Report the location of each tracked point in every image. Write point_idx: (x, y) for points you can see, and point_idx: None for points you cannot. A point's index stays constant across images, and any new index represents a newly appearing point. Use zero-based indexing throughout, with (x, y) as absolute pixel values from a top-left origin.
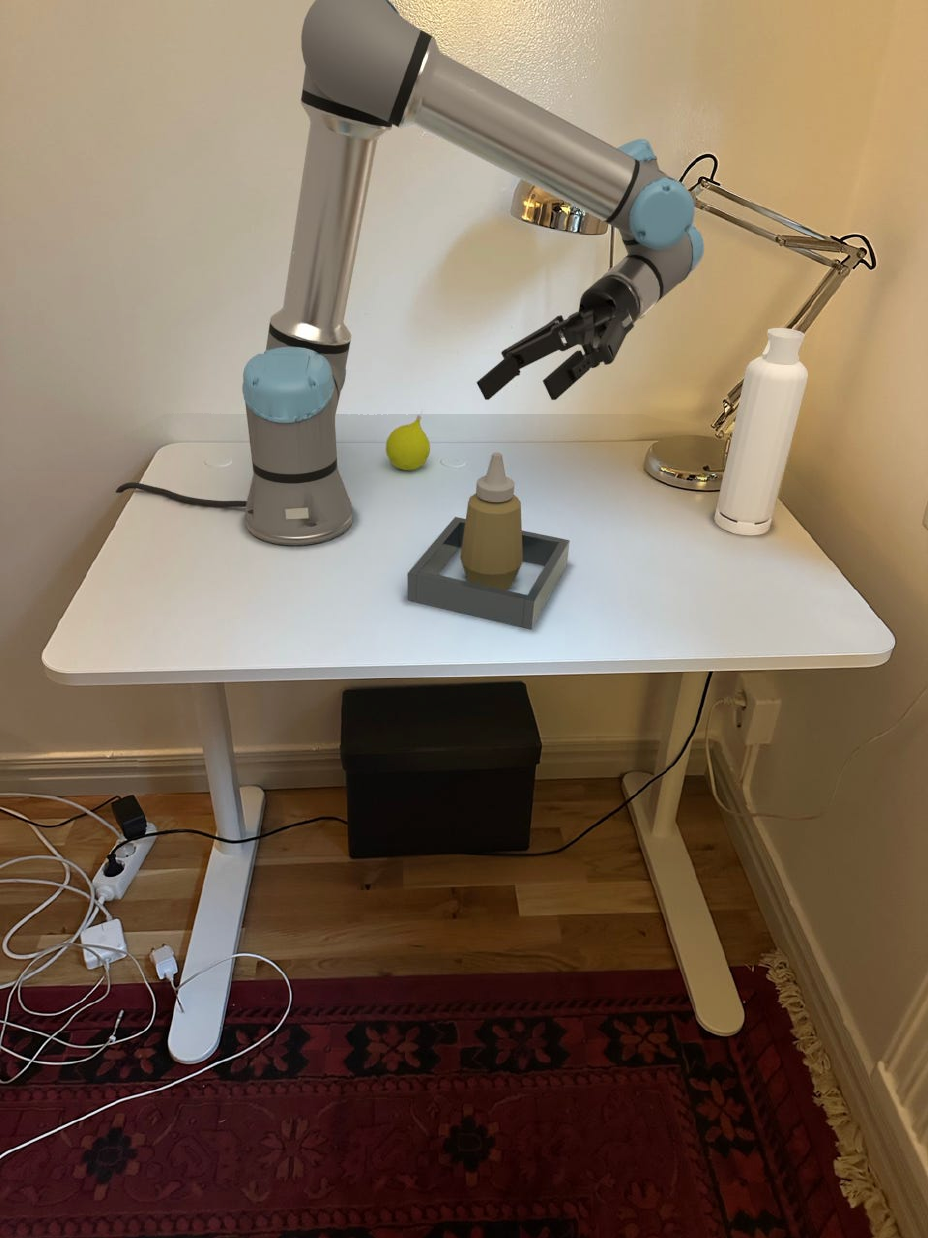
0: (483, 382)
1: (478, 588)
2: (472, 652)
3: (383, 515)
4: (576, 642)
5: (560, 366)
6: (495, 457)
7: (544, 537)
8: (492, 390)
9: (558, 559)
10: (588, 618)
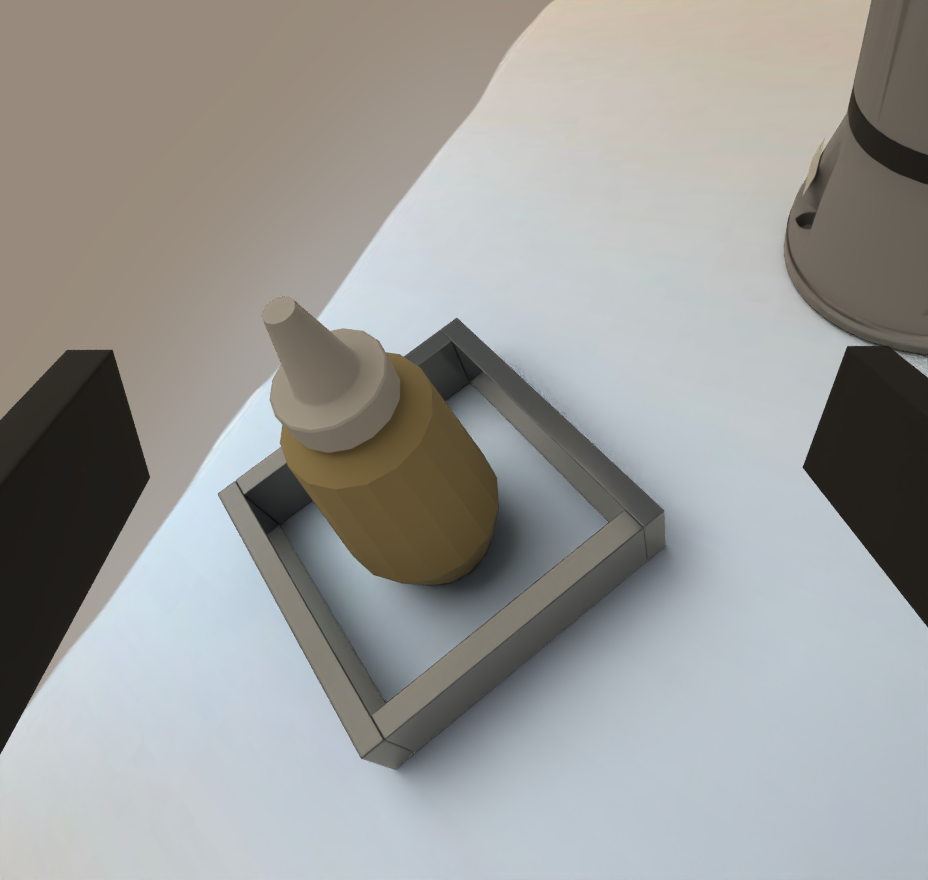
0: (852, 377)
1: None
2: None
3: None
4: (171, 580)
5: (1, 452)
6: (271, 302)
7: (416, 691)
8: (841, 476)
9: (302, 650)
10: (203, 656)
